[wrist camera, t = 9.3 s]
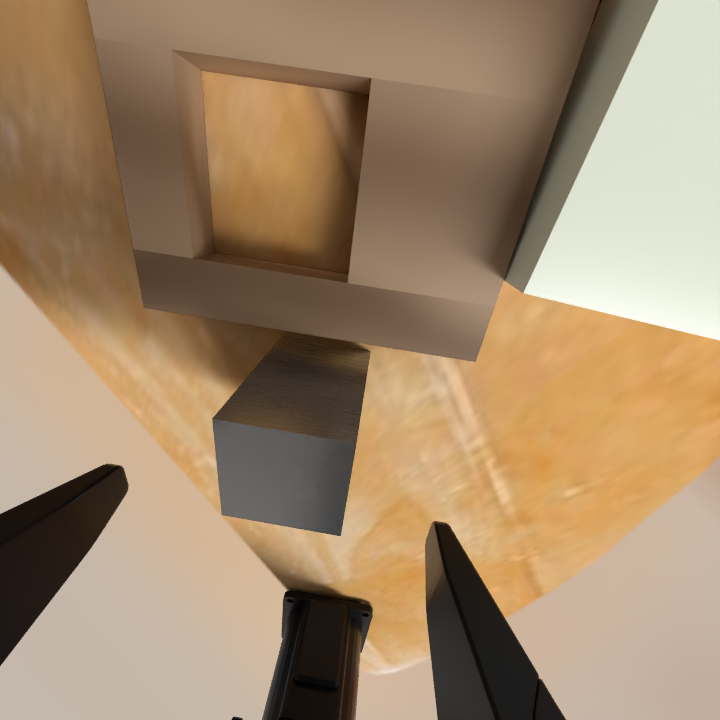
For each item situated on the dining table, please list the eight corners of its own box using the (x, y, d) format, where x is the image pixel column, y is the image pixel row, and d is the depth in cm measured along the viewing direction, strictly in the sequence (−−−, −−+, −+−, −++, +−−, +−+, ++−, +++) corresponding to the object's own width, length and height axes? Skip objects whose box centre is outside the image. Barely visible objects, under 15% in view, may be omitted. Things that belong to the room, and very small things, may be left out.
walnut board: (467, 346, 13) (475, 361, 12) (168, 297, 13) (144, 307, 12) (651, -227, 7) (713, -331, 6) (82, -294, 7) (10, -408, 6)
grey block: (358, 422, 16) (340, 535, 10) (280, 409, 16) (221, 514, 10) (370, 351, 14) (356, 443, 8) (281, 336, 14) (212, 418, 9)
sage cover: (669, 314, 12) (764, 351, 9) (490, 271, 12) (523, 292, 9) (877, 17, 8) (1166, -97, 5) (616, -47, 8) (751, -200, 5)
